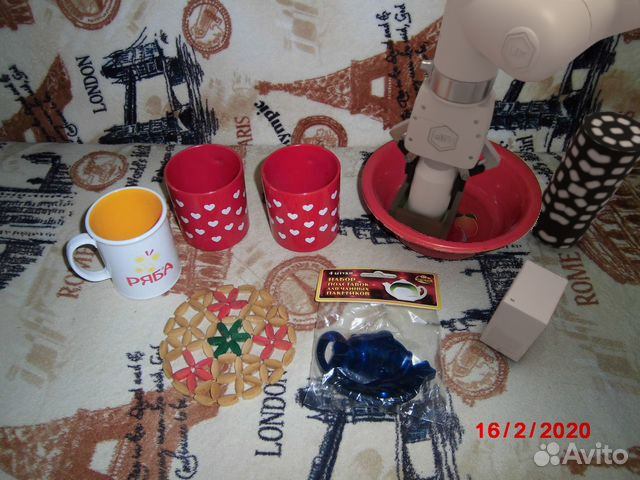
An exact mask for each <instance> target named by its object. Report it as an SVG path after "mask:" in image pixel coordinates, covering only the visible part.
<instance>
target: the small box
mask: <svg viewBox="0 0 640 480" xmlns="http://www.w3.org/2000/svg"><path fill="white" fill-rule="evenodd" d="M568 285H569V280H567V279H566V278H564V277H563V276H561V275H558V274H556V273H554V272H553V271H551V270H549V269H547V268H545V267H543V266H541V265H539V264H537V263H535V262H533V261H531V260H530V259H526V260H525V261H524V262H523V265H522V266H521V268H520V269H519V271H518V273H517V274H516V276H515V278H514V279H513V281H512V283H511V284H510V286H509V288H508V289H507V291H506V293H505V294H504V296H503V297H502V299H501V301H500V303H499V304H498V306H497V307H496V310H495V311H494V313H493V315H492V316H491V318H490V320H489V322H488V323H487V325H486V326H485V328H484V330H483V332H482V334H481V335H480V336H479V339H478V340H479V341H480V342H482V343H484V344H485V345H487V346H489V347H490V348H492V349H494V350H495V351H497V352H499V353H500V354H501V355H504V356H505V357H507V358H508V359H510V360H512V361H513V362H515V363H518V362H519V361H520V360H521V358H522V357H523V356H524V355H525V354H526V352H527V351H528V350H529V348H530V347H532V345H533V344H534V343H535V341H536V340H537V339H538V338H539V336H540V335H541V334H542V333H543V331H544V330H546V328H547V327H548V325H549V323H550V321H551V319H552V317H553V316H554V313H555V312H556V309H557V307H558V305H559V303H560V301H561V299H562V297H563V295H564V292H565V290H566V288H567V286H568Z"/></svg>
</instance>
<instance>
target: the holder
mask: <svg viewBox="0 0 640 480" xmlns="http://www.w3.org/2000/svg"><path fill="white" fill-rule="evenodd" d="M406 179H407V175H406V176H405V178H404V179H403V182H402V184H401V186H400V187H399V190H398V192H397V193H396V195H395V197H394V199H393V201H392V203H391V205H390V206H389V209H388V214H389V215H390V216H392V217H393V218H394V219H395V220H397V221H398V222H400V223H403V224H404V225H406V226H409V227H411V228H412V229H414V230H416V231H418V232H420V233H422V234H425V235H427V236H431V237H435V238H438V239H443V240H446V241H447V239H448V236H449V234H450V231H451V229H452V226H453V224H454V223H455V222H454V221H455V219H456V217H457V214H458V212H459V209H460V206H461V203H462V201H463V198H464V195H465V192H466V190H467V188H465V187H464V190H463V192H459V191H458V192H457V195H456V197H455V199H454V198H451V199H450V202H449V205H448V208H447V211H446V214H445V216H444V218H443V220H442V221H438V220H435V219H432V218H429V217H426V216H423V215H420V214H418V213H415V212H412V211H409V210H407V204H408V199H409V194H410V190H411V185H412V182H411V183H409V184H408V183H406ZM412 181H413V180H412ZM384 231H385V232H386V233H390V234H393V233H392V232H391V231H389V230H388V229H386V228H385V230H384ZM393 235H394V234H393Z"/></svg>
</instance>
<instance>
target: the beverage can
mask: <svg viewBox="0 0 640 480" xmlns="http://www.w3.org/2000/svg"><path fill="white" fill-rule="evenodd" d="M459 171H460V170H459V168H458V167H454V166H451V165H448V164H445V163H441V162H438V161H435V160H432V159H428V158H425V157H422V156H420V159H419V160H418V161H417V163H416V167H415V172H414V176H413V181H412V185H411V190H410V194H409V199H408V204H407V210H409V211H412V212H415V213H418V214H420V215H423V216H426V217H429V218H432V219H435V220H438V221H442V220H443V218H444V216H445V214H446V211H447V208H448V205H449V202H450V199H451V193H452V190H453V187H454V184H455V181H456V178H457V176H458V173H459Z"/></svg>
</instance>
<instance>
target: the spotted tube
mask: <svg viewBox="0 0 640 480" xmlns="http://www.w3.org/2000/svg"><path fill="white" fill-rule="evenodd" d="M639 160H640V121H638V120H637V119H635V118H634V117H631V116H628V115H626V114H623V113H620V112H615V111H610V110H608V111H607V110H599V111H595V112H591V113H589V114H587V115H586V116H585V117H584V118H583V120H582V122H581V124H580V126H579V127H578V129H577V131H576V133H575V134H574V136H573V139H572V140H571V141H570V143H569V145H568V147H567V149H566V151H565V152H564V155H563V156H562V158H561V160H560V161H559V163H558V165H557V166H556V169H555V170H554V172H553V175H551V178H550V179H549V181H548V183H547V185H546V186H545V188H544V190H543V192H542V194H541V196H542V209H541V212H540V215H539V218H538V220H537V222H536V224H535V226H534V227H533V229H532V230H531V231H530V230H529V232H530V233H531V235H532V236H533V237H534V238H535V239H536V240H537V241H539V242H540V243H542V245H543V244H544V245H545V246H547V247H551V248H555V249H570V248H573V247H575V246H576V245H577V244H578V243H580V241H581V240H582V238H583V237H584V236H585V234H586V232H587V231H588V230H589V228H591V226H592V224H593V223H594V222H595V220H596V219H597V217H599V215H600V214H601V212H602V211H603V209H604V208H605V207H606V205H607V204H608V203H609V201H610V200H611V198H612V197H613V196H614V194H615V193H616V192H617V190H618V189H619V188H620V187H621V185H622V184H623V182H624V181H625V179H627V177H628V176H629V174H631V172H632V170H634V169H633V168H634V167H635V166H636V165H637V163H638V162H639Z"/></svg>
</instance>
